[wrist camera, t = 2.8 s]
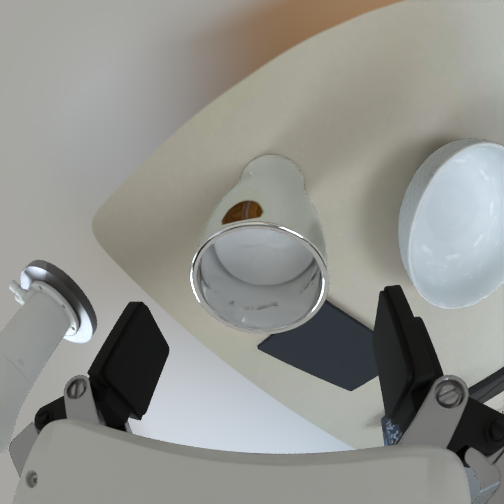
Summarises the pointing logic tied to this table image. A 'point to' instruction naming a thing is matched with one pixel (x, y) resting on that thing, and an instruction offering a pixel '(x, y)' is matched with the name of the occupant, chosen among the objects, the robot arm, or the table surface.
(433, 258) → the cereal bowl
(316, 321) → the placemat
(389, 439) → the box
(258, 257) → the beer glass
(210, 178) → the table surface
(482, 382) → the picture frame
